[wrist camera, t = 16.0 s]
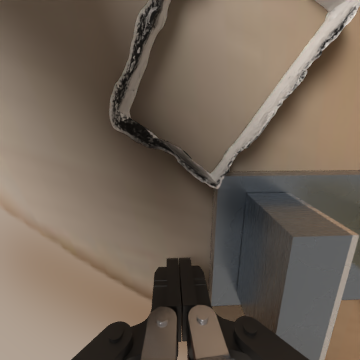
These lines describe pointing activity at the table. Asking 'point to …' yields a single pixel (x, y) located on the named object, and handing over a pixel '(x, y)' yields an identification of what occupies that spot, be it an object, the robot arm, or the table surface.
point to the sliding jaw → (293, 269)
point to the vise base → (277, 183)
